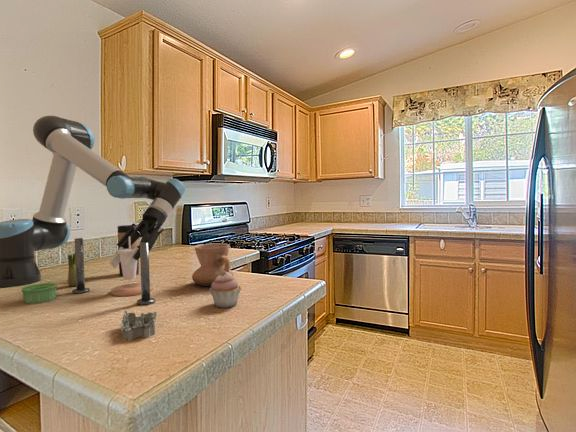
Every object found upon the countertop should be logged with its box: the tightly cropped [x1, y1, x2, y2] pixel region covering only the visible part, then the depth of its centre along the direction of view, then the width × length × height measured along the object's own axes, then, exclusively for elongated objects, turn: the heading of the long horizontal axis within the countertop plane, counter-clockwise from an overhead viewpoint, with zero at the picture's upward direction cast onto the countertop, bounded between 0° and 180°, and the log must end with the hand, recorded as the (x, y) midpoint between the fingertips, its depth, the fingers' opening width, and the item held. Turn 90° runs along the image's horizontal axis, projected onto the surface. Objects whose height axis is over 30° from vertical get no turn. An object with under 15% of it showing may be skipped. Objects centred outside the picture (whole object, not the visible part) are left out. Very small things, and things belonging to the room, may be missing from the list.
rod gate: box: [71, 237, 156, 306], centre depth 109 cm, size 35×5×18 cm, turn 65°
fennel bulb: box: [67, 251, 76, 287], centre depth 124 cm, size 6×5×12 cm
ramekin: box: [21, 282, 58, 305], centre depth 107 cm, size 9×9×4 cm
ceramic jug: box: [191, 242, 234, 287], centre depth 124 cm, size 18×14×14 cm
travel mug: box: [117, 224, 140, 277], centre depth 142 cm, size 8×8×20 cm
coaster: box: [110, 282, 154, 297], centre depth 117 cm, size 13×13×1 cm
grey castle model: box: [120, 310, 158, 341], centre depth 81 cm, size 11×8×4 cm
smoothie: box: [117, 237, 137, 281], centre depth 115 cm, size 6×6×14 cm
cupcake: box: [208, 271, 242, 309], centre depth 100 cm, size 9×9×10 cm
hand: (119, 266), depth 112 cm, fingers closed on smoothie, 6 cm apart
